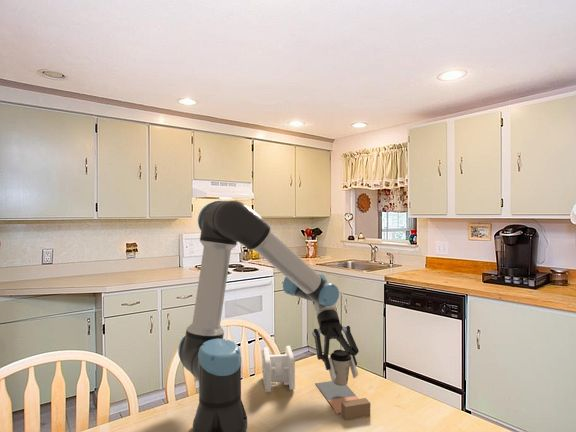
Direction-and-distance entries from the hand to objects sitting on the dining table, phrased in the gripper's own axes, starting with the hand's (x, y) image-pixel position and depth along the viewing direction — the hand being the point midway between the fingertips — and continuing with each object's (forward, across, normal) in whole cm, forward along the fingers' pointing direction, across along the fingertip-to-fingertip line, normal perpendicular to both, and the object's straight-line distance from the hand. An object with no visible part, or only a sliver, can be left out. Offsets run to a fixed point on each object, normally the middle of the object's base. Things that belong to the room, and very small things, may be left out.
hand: (345, 377), depth 121 cm
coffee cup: (0, 0, -5) cm, 5 cm away
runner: (+4, +1, -6) cm, 7 cm away
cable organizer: (-6, +18, -17) cm, 25 cm away
